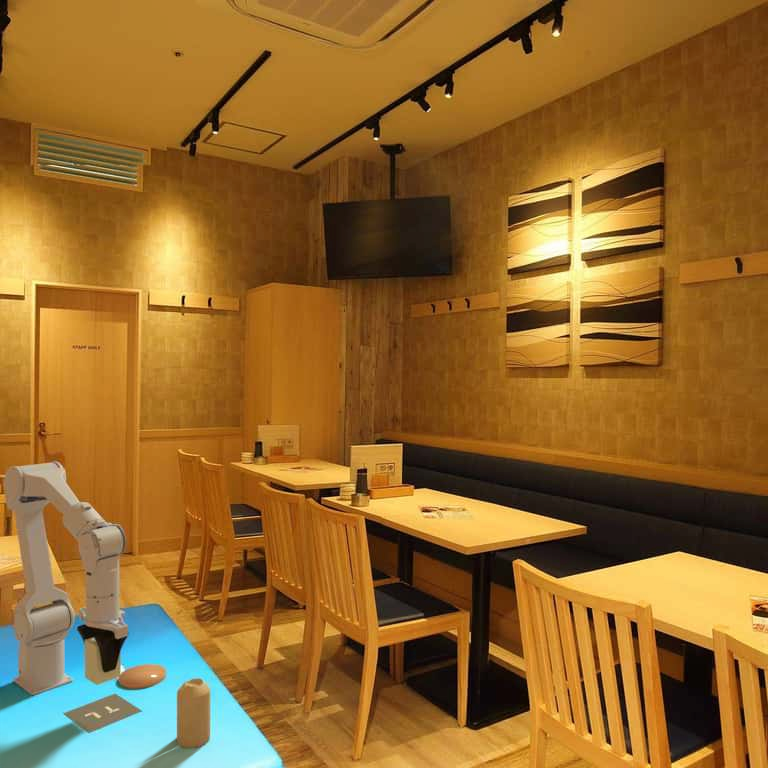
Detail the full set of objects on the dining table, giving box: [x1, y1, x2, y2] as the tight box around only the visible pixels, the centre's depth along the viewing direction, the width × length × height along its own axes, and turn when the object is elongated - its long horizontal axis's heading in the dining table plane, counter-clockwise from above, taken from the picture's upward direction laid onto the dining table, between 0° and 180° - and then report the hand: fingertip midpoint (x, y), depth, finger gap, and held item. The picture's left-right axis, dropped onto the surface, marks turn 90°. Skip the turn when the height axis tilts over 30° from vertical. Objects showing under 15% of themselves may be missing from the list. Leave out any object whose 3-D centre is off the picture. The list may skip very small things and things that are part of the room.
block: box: [84, 637, 122, 686], centre depth 123 cm, size 4×4×7 cm
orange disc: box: [118, 663, 167, 690], centre depth 137 cm, size 9×9×1 cm
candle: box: [176, 678, 211, 749], centre depth 115 cm, size 6×6×10 cm
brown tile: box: [62, 693, 143, 734], centre depth 124 cm, size 10×10×1 cm
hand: (102, 666), depth 124 cm, fingers closed on block, 4 cm apart
